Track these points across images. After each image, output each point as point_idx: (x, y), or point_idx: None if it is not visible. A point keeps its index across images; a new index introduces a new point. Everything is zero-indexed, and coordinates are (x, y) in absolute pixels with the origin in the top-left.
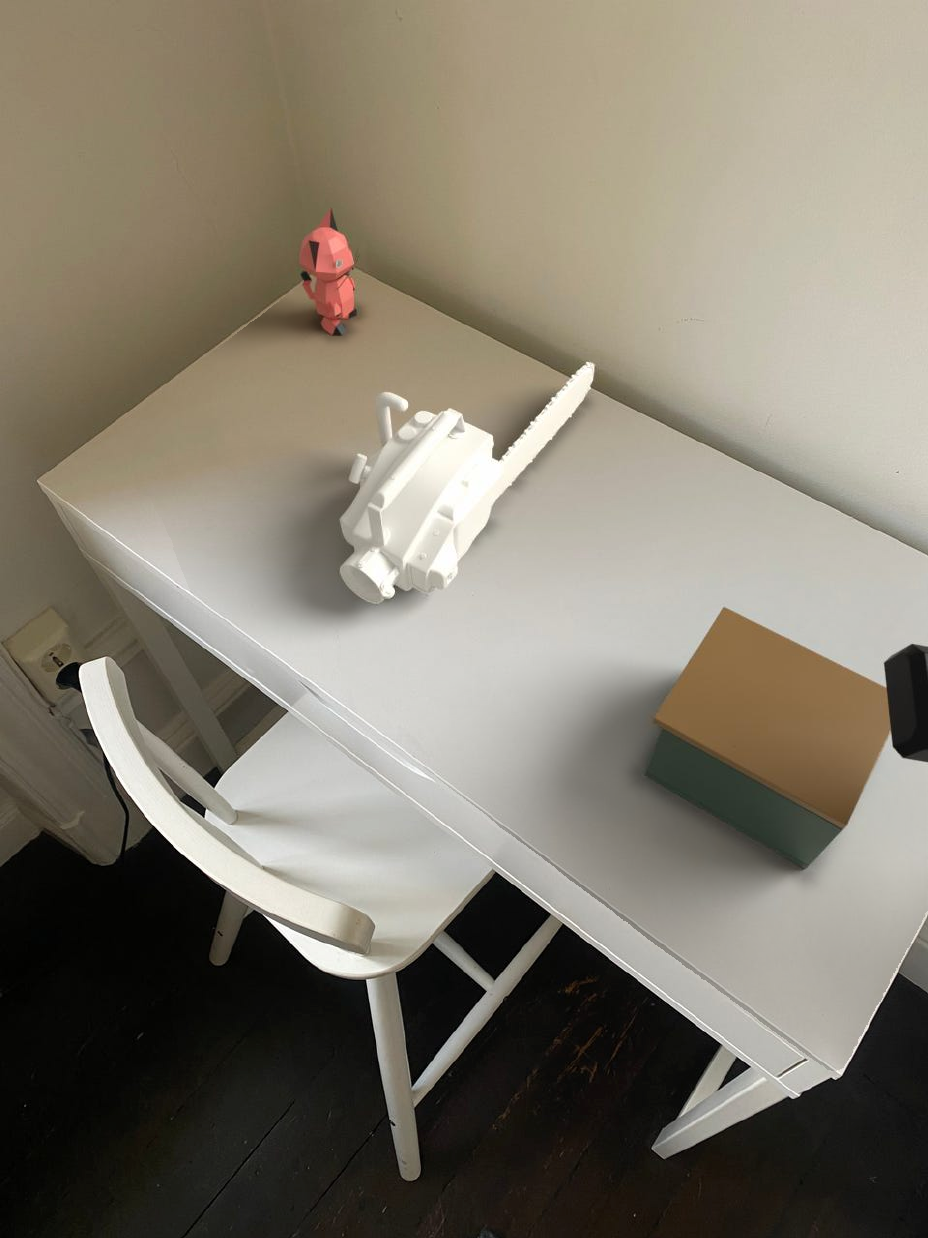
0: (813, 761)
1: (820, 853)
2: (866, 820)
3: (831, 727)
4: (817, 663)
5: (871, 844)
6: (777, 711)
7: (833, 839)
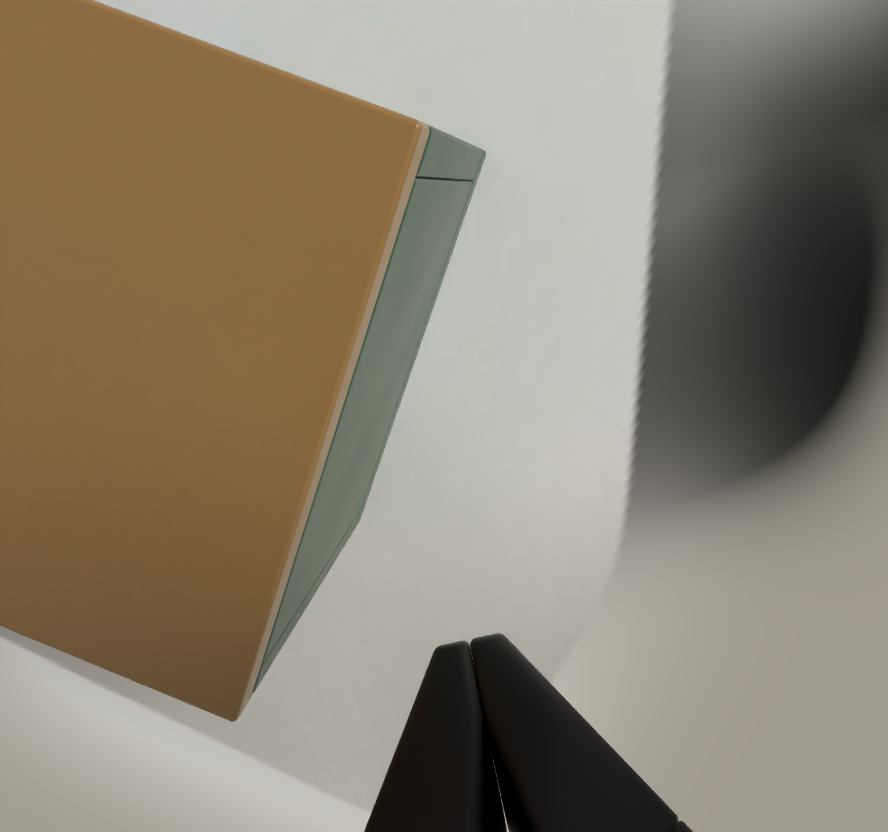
0: (94, 520)
1: (324, 577)
2: (499, 368)
3: (126, 365)
4: (7, 32)
5: (512, 430)
6: None
7: (285, 640)
